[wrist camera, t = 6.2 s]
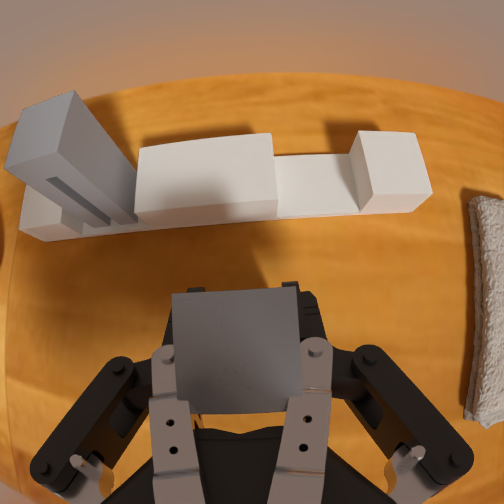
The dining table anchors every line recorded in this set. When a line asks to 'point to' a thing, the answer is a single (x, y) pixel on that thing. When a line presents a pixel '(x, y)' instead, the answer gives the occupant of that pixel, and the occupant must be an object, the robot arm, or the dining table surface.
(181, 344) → the grey slotted block
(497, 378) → the washcloth
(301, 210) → the rail
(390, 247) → the dining table surface
